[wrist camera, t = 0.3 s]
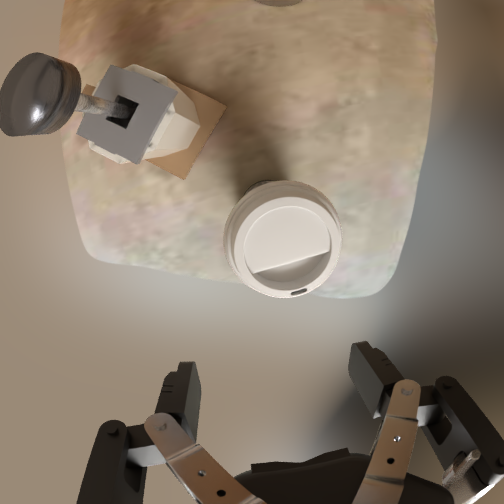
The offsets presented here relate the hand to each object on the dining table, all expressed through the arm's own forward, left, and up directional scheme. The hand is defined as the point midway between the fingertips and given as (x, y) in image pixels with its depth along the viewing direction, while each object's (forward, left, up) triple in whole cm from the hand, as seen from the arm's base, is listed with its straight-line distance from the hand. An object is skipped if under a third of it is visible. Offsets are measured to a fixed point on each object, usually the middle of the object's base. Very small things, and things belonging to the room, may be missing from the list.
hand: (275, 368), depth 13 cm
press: (-7, -15, -23) cm, 29 cm away
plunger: (-7, -15, -12) cm, 20 cm away
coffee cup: (-4, 0, -24) cm, 24 cm away
